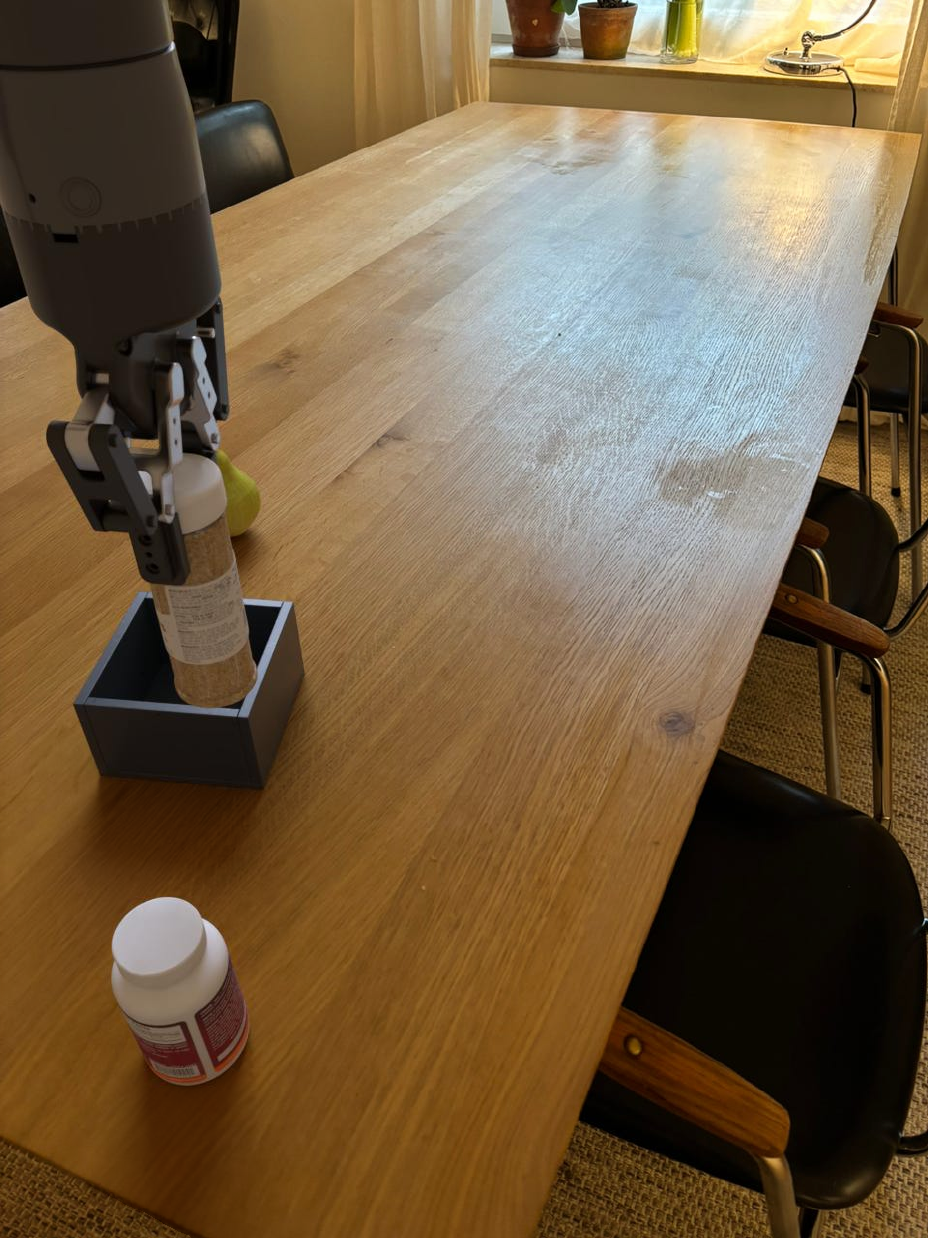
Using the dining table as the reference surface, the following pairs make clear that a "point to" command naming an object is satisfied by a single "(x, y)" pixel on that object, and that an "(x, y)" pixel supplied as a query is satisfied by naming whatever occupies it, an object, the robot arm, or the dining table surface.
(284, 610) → the dark grey open box
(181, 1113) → the dining table surface
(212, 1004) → the pill bottle
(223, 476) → the fruit
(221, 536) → the sprinkles bottle
